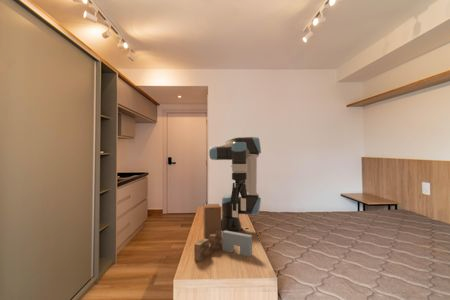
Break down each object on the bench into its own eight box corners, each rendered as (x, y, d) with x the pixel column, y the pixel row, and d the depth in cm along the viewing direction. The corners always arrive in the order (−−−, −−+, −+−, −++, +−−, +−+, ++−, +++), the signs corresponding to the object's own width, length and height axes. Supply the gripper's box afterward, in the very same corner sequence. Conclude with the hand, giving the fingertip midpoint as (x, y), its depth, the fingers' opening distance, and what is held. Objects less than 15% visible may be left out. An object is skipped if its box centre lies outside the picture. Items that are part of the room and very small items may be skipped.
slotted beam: (217, 244, 132) (217, 230, 132) (221, 245, 131) (221, 231, 131) (194, 260, 113) (194, 244, 113) (199, 261, 112) (199, 245, 112)
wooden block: (221, 240, 139) (221, 207, 140) (204, 241, 138) (204, 207, 138) (218, 234, 149) (218, 203, 149) (203, 235, 147) (203, 204, 148)
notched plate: (225, 248, 127) (225, 230, 127) (252, 254, 119) (252, 235, 119) (222, 250, 124) (222, 231, 124) (249, 256, 117) (249, 237, 117)
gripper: (239, 170, 131) (240, 207, 131) (223, 174, 108) (223, 219, 107) (252, 170, 128) (252, 208, 128) (238, 174, 105) (238, 221, 105)
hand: (239, 213), depth 118 cm, fingers open, 13 cm apart
